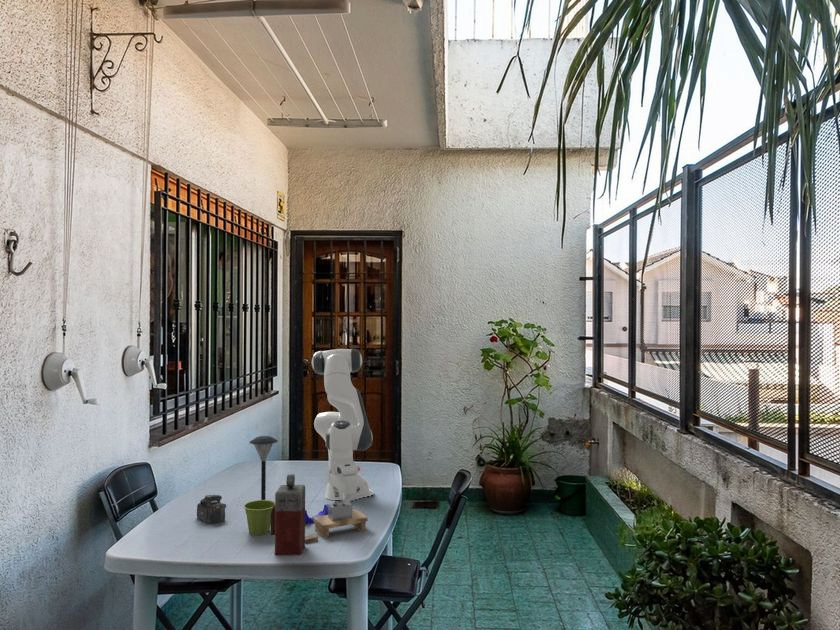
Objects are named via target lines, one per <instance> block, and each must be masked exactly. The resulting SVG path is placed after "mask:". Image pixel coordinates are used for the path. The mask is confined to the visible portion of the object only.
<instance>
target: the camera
mask: <svg viewBox="0 0 840 630" xmlns="http://www.w3.org/2000/svg"><path fill="white" fill-rule="evenodd" d="M222 499H223V497H222V495H220V494H206V495H205V496H204V497H203V498H202V499H201V500H200V502H199V503H197V506H196V517H197V518H198V519H199V520H201V521H202V522H205V523H206V524H207V523H208V524H211V525H213V524H219V523H223V522H225V521H226V508H227V504H226V503H223V502H221V501H222Z"/></svg>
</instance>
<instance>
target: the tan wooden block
mask: <svg viewBox="0 0 840 630" xmlns="http://www.w3.org/2000/svg"><path fill="white" fill-rule="evenodd" d="M318 541H319V537H318V535H316V534H315V533H314V534H310V535H305V544H308V543H312V542H318Z"/></svg>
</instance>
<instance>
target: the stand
mask: <svg viewBox="0 0 840 630" xmlns="http://www.w3.org/2000/svg"><path fill="white" fill-rule="evenodd" d="M312 518H313V522H314V532H316V533H317V534H318V535H319V536H321V537H322V538H324V539H325V538H330V529H334V528H335V529H336V528H339V527H345V526H350V525H351V526H352V525H353V527H354V528H355V527H356V528H355V529H356V530H358V529H359V532H364V530H365V531H367V526H366V524H367V522H368V516H366V515H365V514H364V513H362V512H361V511H359V510H358V509H354V510H353V509H352V518H348V519H342V520H337V521H332V520H330V519H329V518H328V515H324V516H319V517H313V516H312Z"/></svg>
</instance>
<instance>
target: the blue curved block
mask: <svg viewBox="0 0 840 630" xmlns="http://www.w3.org/2000/svg"><path fill="white" fill-rule="evenodd" d="M328 504H329V503H326V504H324V506H323V509H322V510H321V511H319V512H318V513H317V514H316V515H314V516H312V517H310V516H309V514H308V512H307V511H308V510H307V509H305V524H307V525H308V524H313V523H314V524H315V522H313V517H319V516H324V515H328Z"/></svg>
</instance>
